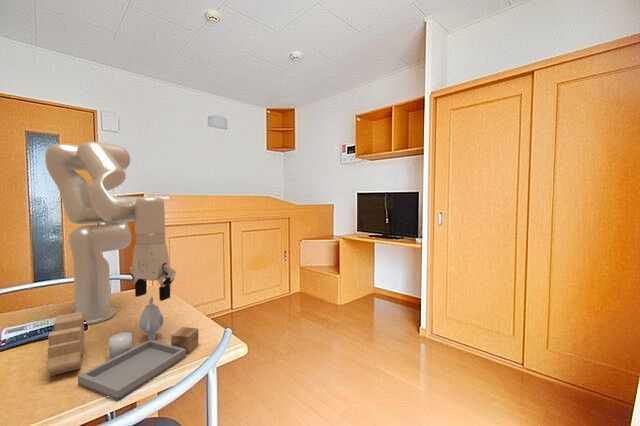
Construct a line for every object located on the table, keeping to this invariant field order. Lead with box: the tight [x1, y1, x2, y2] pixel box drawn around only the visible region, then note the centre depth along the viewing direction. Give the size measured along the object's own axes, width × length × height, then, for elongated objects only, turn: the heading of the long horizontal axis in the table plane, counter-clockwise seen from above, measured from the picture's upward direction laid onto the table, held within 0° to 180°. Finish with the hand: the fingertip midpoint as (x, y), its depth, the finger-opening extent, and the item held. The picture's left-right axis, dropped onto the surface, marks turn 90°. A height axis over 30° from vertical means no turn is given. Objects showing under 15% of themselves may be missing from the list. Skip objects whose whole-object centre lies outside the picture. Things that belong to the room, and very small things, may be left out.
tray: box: [77, 339, 187, 402], centre depth 71 cm, size 13×18×2 cm
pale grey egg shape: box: [108, 331, 133, 360], centre depth 78 cm, size 5×5×5 cm
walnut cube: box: [170, 326, 199, 355], centre depth 82 cm, size 5×5×5 cm
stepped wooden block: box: [46, 311, 85, 377], centre depth 74 cm, size 6×17×10 cm, turn 36°
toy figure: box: [138, 296, 164, 340], centre depth 87 cm, size 11×6×12 cm, turn 19°
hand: (152, 297), depth 87 cm, fingers open, 9 cm apart
